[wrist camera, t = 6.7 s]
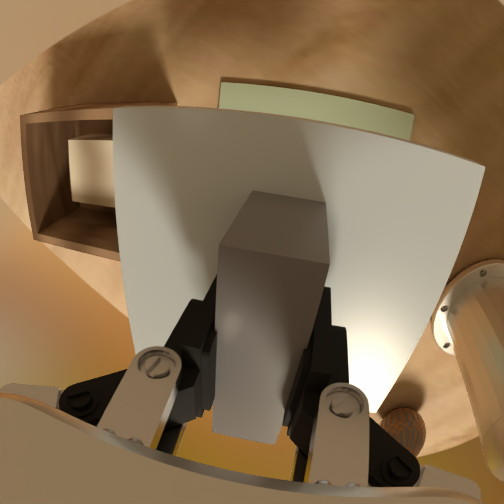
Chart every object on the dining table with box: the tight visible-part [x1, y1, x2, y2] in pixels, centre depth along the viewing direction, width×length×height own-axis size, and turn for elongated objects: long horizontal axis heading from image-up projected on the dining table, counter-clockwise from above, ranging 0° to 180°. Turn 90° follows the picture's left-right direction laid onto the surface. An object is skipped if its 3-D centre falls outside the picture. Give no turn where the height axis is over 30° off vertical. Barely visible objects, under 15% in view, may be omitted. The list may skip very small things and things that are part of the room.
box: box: [20, 102, 177, 262], centre depth 26 cm, size 12×12×8 cm
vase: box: [380, 408, 426, 458], centre depth 34 cm, size 7×7×9 cm
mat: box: [219, 82, 414, 141], centre depth 27 cm, size 16×16×1 cm
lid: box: [113, 106, 485, 444], centre depth 12 cm, size 13×13×6 cm
